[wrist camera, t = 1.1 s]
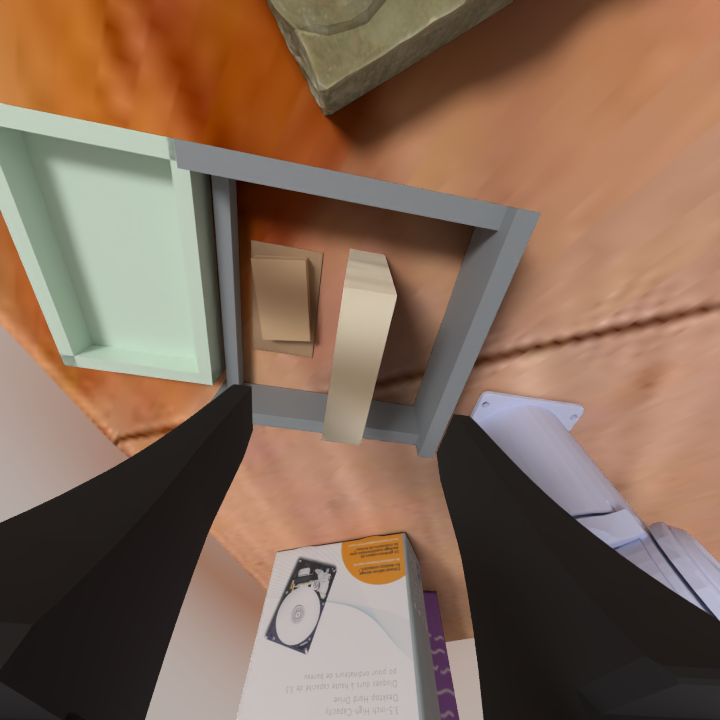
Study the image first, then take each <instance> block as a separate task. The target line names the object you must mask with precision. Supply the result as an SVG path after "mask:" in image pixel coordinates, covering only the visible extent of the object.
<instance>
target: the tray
mask: <svg viewBox="0 0 720 720" xmlns="http://www.w3.org/2000/svg"><path fill="white" fill-rule="evenodd" d="M0 210H1V212H2V215H3V217H4V219H5V222H6V224H7V227H8V229H9V232H10V234H11V236H12V239H13V241H14V244H15V246H16V249H17V251H18V253H19V256H20V258H21V261H22V263H23V266H24V268H25V270H26V273H27V275H28V278H29V280H30V283H31V285H32V287H33V290H34V292H35V295H36V297H37V300H38V302H39V304H40V307H41V309H42V312H43V314H44V317H45V319H46V321H47V324H48V326H49V329H50V331H51V334H52V336H53V338H54V341H55V343H56V346H57V348H58V351H59V353H60V355H61V358H62V360H63V363H64V365H68V366H75V367H83V368H90V369H97V370H105V371H112V372H119V373H127V374H134V375H141V376H148V377H156V378H163V379H170V380H178V381H185V382H192V383H200V384H207V385H213V384H214V383H215V381H216V380H217V379H218V377H219V376H220V374H221V373H222V372H223V370H224V369H225V365H224V352H223V339H222V326H221V313H220V301H219V288H218V275H217V262H216V249H215V236H214V223H213V211H212V198H211V185H210V174H205V173H200V172H195V171H190V170H185V169H180V168H177V160H176V152H175V144H174V138H169V137H164V136H159V135H154V134H149V133H144V132H139V131H134V130H129V129H124V128H119V127H114V126H110V125H105V124H100V123H95V122H90V121H85V120H80V119H75V118H70V117H65V116H60V115H55V114H50V113H46V112H41V111H36V110H31V109H26V108H21V107H16V106H11V105H6V104H1V103H0Z"/></svg>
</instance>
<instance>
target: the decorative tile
mask: <svg viewBox="0 0 720 720" xmlns="http://www.w3.org/2000/svg"><path fill="white" fill-rule="evenodd" d="M266 1H267V3H268V6H269V8H270V10H271V12H272V13H273V15H274V17H275V18H276V20H277V23H278V26H279V28H280V30H281V33H282V34H283V36H284V38H285V41H286V44H287V46H288V48H289V50H290V52H291V53H292V55H293V57H294V58H295V60H296V61H297V63H298V65H299V67H300V68H301V70H302V73H303V75H304V76H305V78H306V79H307V81H308V85H309V88H310V91H311V93H312V95H313V96H314V98H315V100H316V101H317V103H318V105H319V107H320V108H321V110H322V112H323V114H324V115H325V116H326V115H331V114H333V113H335V112H336V111H338V110H340V109H341V108H343V107H345V106H346V105H348V104H349V103H351V102H353V101H354V100H356V99H358V98H359V97H361V96H363V95H364V94H366V93H367V92H369V91H371V90H372V89H374V88H376V87H378V86H379V85H381V84H382V83H384V82H386V81H387V80H389V79H390V78H392V77H394V76H395V75H397V74H399V73H400V72H402V71H403V70H405V69H407V68H408V67H410V66H411V65H413V64H415V63H416V62H418V61H419V60H421V59H423V58H424V57H426V56H428V55H429V54H431V53H433V52H434V51H436V50H437V49H439V48H440V47H442V46H444V45H445V44H447V43H449V42H450V41H452V40H453V39H455V38H457V37H458V36H460V35H461V34H463V33H465V32H466V31H468V30H470V29H471V28H473V27H474V26H476V25H478V24H479V23H481V22H482V21H484V20H485V19H487V18H489V17H490V16H492V15H493V14H495V13H496V12H498V11H499V10H501V9H502V8H504V7H505V6H507V5H508V4H510V3H512V2H513V1H515V0H266Z"/></svg>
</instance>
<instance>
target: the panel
mask: <svg viewBox="0 0 720 720" xmlns="http://www.w3.org/2000/svg"><path fill="white" fill-rule="evenodd" d="M396 299H397V294H396V290H395V287H394V284H393V280H392V277H391V274H390V270H389V267H388V264H387V260H386V257H385V255H383V254H378V253H372V252H367V251H361V250H356V249H350V253H349V259H348V265H347V271H346V277H345V283H344V289H343V296H342V302H341V309H340V316H339V323H338V330H337V336H336V343H335V350H334V357H333V364H332V371H331V377H330V384H329V391H328V398H327V405H326V411H325V418H324V425H323V432H322V439H321V440H322V441H330V442H338V443H346V444H354V445H361V441H362V437H363V432H364V428H365V424H366V420H367V416H368V412H369V408H370V404H371V400H372V396H373V392H374V388H375V384H376V380H377V376H378V372H379V368H380V364H381V360H382V356H383V351H384V347H385V343H386V339H387V335H388V331H389V327H390V323H391V319H392V315H393V311H394V307H395V303H396Z"/></svg>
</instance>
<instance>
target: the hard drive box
mask: <svg viewBox="0 0 720 720" xmlns="http://www.w3.org/2000/svg"><path fill="white" fill-rule="evenodd" d="M236 720H441V717H440V710H439V702H438V695H437V688H436V681H435V674H434V667H433V660H432V653H431V646H430V639H429V632H428V625H427V618H426V611H425V603H424V595H423V588H422V580H421V571H420V564H419V562H418V560H417V557H416V555H415V553H414V551H413V548H412V546H411V544H410V542H409V540H408V538H407V535H406V534H405V533H400V534H393V535H387V536H371V537H366V538H363V539H359V540H354V541H347V542H340V543H334V544H327V545H320V546H307V547H301V548H298V549H293V550H287V551H280V552H277V553H276V557H275V562H274V566H273V570H272V574H271V578H270V582H269V586H268V591H267V595H266V599H265V603H264V607H263V611H262V615H261V619H260V623H259V628H258V632H257V636H256V640H255V644H254V648H253V652H252V656H251V660H250V664H249V669H248V673H247V677H246V681H245V685H244V689H243V693H242V697H241V701H240V705H239V710H238V714H237V718H236Z"/></svg>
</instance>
